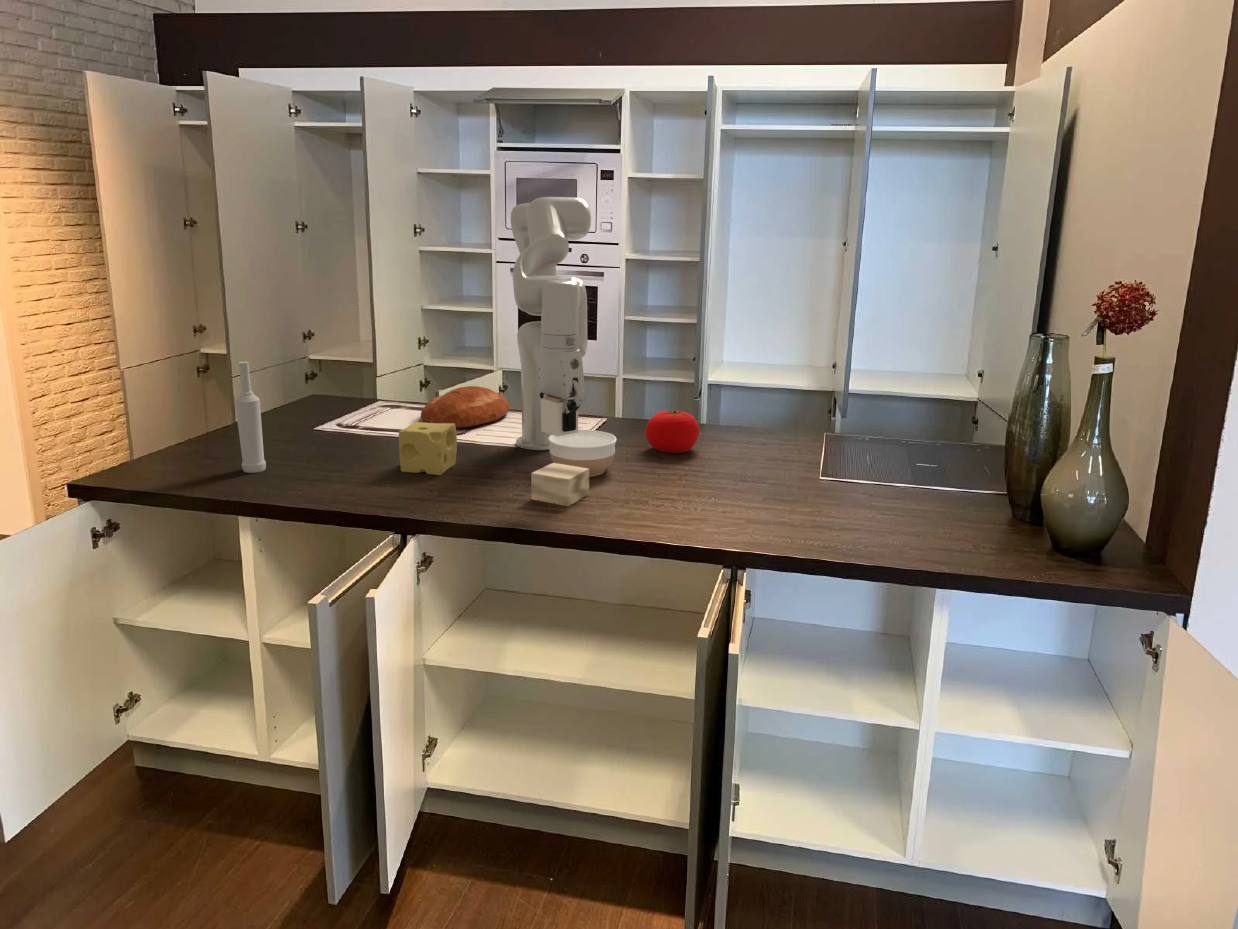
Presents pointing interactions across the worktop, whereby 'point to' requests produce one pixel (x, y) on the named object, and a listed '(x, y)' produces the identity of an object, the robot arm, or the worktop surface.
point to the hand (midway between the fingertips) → (559, 426)
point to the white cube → (554, 416)
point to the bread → (466, 407)
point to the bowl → (584, 450)
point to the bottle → (249, 424)
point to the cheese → (428, 447)
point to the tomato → (672, 431)
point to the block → (560, 484)
